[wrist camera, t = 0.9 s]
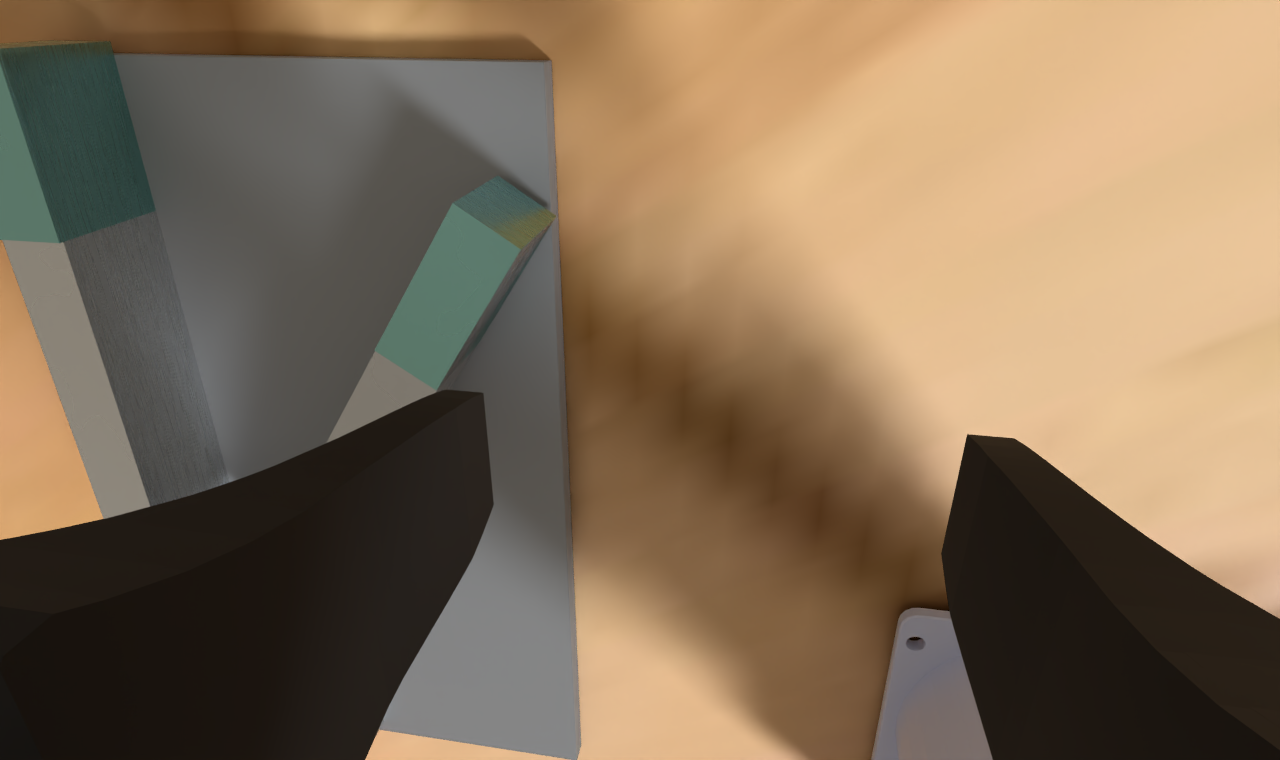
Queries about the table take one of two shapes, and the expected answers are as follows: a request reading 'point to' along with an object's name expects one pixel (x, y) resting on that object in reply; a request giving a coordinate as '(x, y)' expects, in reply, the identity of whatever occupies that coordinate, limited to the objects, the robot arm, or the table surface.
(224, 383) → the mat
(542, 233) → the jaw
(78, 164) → the base
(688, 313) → the table surface
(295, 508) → the robot arm
